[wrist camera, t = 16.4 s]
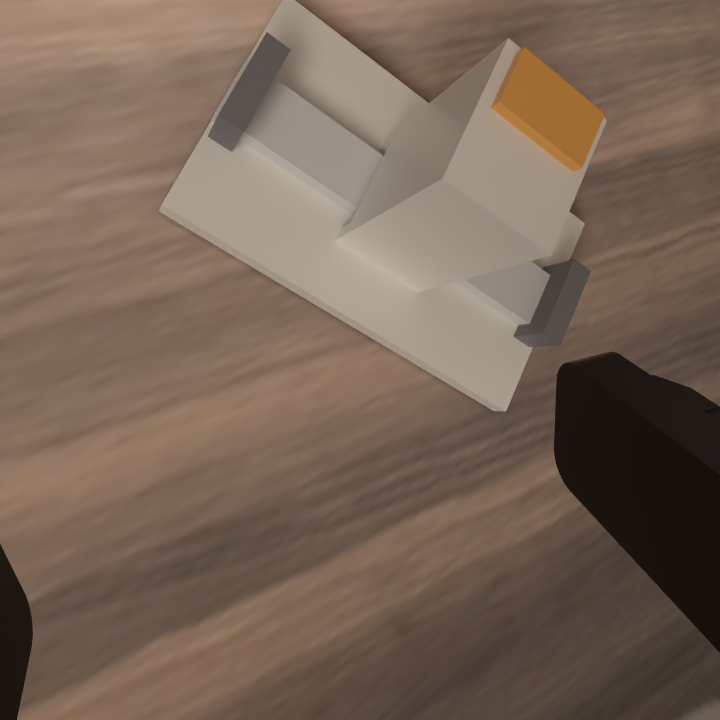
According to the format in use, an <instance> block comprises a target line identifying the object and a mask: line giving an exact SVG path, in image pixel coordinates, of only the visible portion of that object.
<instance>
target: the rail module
mask: <svg viewBox="0 0 720 720" xmlns="http://www.w3.org/2000/svg"><path fill="white" fill-rule="evenodd" d="M604 115H605V114H604V113H603V112H602V111H601V110H599V109H598V108H597V107H596V106H595V105H593V104H592V103H591V102H590V101H589V100H587V99H586V98H585V97H584V96H583V95H582V94H580V93H579V92H578V91H577V90H576V89H574V88H573V87H572V86H571V85H570V84H568V83H567V82H566V81H565V80H564V79H563V78H561V77H560V76H559V75H558V74H557V73H555V72H554V71H553V70H552V69H551V68H549V67H548V66H547V65H546V64H545V63H544V62H542V61H541V60H540V59H539V58H538V57H536V56H535V55H534V54H533V53H532V52H531V51H529V50H528V49H527V48H526V47H523V48H522V49H521V48H520V47H519V46H518V45H516V44H515V43H514V42H513V41H512V40H510V39H509V38H508V39H506V40H505V41H504V42H503V43H502V44H500V45H499V46H498V47H497V48H495V49H494V50H493V51H492V52H491V53H489V54H488V55H487V56H486V57H484V58H483V59H482V60H481V61H480V62H478V63H477V64H476V65H475V66H474V67H472V68H471V69H470V70H469V71H467V72H466V73H465V74H464V75H463V76H461V77H460V78H459V79H458V80H457V81H455V82H454V83H453V84H452V85H450V86H449V87H448V88H447V89H446V90H444V91H443V92H442V93H441V94H440V95H438V96H437V97H436V98H435V99H433V100H432V101H431V102H430V103H429V104H427V105H426V106H425V107H424V108H422V109H421V110H420V111H419V112H418V113H416V114H415V115H414V116H413V117H412V118H410V119H409V120H408V121H407V122H405V123H404V124H403V125H402V126H401V127H399V128H398V129H397V130H396V131H395V132H393V133H392V134H391V135H390V136H388V137H387V138H386V139H385V141H384V143H383V145H382V147H381V149H380V150H381V151H382V152H383V153H385V154H384V156H383V158H382V160H381V162H380V164H379V166H378V168H377V170H376V172H375V174H374V176H373V178H372V180H371V182H370V184H369V186H368V188H367V190H366V192H365V194H364V196H363V198H362V200H361V202H360V204H359V206H358V208H357V210H356V212H355V214H354V216H353V218H352V220H351V222H350V223H349V224H347V225H346V226H344V227H342V228H341V230H340V232H339V234H338V236H337V238H336V240H335V241H336V242H338V243H340V244H341V245H343V246H344V247H346V248H348V249H349V250H351V251H352V252H354V253H356V254H357V255H359V256H360V257H362V258H364V259H365V260H367V261H368V262H370V263H372V264H373V265H375V266H376V267H378V268H380V269H381V270H383V271H384V272H386V273H388V274H389V275H391V276H392V277H394V278H396V279H397V280H399V281H400V282H402V283H404V284H405V285H407V286H408V287H410V288H412V289H413V290H415V291H416V292H421V291H424V290H428V289H432V288H435V287H439V286H442V285H446V284H450V283H453V282H457V281H461V280H464V279H468V278H471V277H475V276H479V275H482V274H486V273H489V272H493V271H497V270H500V269H504V268H507V267H511V266H515V265H518V264H522V263H526V262H529V261H533V260H536V259H540V258H544V257H547V256H551V254H552V252H553V249H554V247H555V245H556V242H557V240H558V237H559V235H560V233H561V230H562V228H563V225H564V223H565V220H566V218H567V216H568V213H569V211H570V208H571V206H572V204H573V201H574V199H575V196H576V194H577V192H578V189H579V187H580V184H581V182H582V180H583V177H584V175H585V172H586V170H587V167H588V165H589V163H590V160H591V158H592V155H593V153H594V151H595V148H596V146H597V143H598V141H599V139H600V136H601V134H602V131H603V129H604V126H605V124H606V122H607V120H606V119H605V118H603V117H604Z"/></svg>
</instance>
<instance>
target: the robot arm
mask: <svg viewBox="0 0 720 720" xmlns="http://www.w3.org/2000/svg"><path fill="white" fill-rule="evenodd" d="M554 454H555V460H556V464H557V468H558V471H559V473H560V475H561V478H562V480H563V481H564V483H565V485H566V486H567V488H568V489H569V490H570V491H571V492H572V493H573V495H574V496H575V497H576V498H577V499H578V500H579V501H580V502H581V503H582V504H583V505H584V506H585V508H586V509H587V510H588V511H589V512H590V513H591V514H592V515H593V516H594V517H595V518H596V519H597V520H598V522H599V523H600V524H601V525H602V526H603V527H604V528H605V529H606V530H607V531H608V532H609V533H610V535H611V536H612V537H613V538H614V539H615V540H616V541H617V542H618V543H619V544H620V545H621V546H622V547H623V549H624V550H625V551H626V552H627V553H628V554H629V555H630V556H631V557H632V558H633V559H634V560H635V561H636V563H637V564H638V565H639V566H640V567H641V568H642V569H643V570H644V571H645V572H646V573H647V574H648V576H649V577H650V578H651V579H652V580H653V581H654V582H655V583H656V584H657V585H658V586H659V587H660V588H661V590H662V591H663V592H664V593H665V594H666V595H667V596H668V597H669V598H670V599H671V600H672V601H673V603H674V604H675V605H676V606H677V607H678V608H679V609H680V610H681V611H682V612H683V613H684V614H685V615H686V617H687V618H688V619H689V620H690V621H691V622H692V623H693V624H694V625H695V626H696V627H697V628H698V630H699V631H700V632H701V633H702V634H703V635H704V636H705V637H706V638H707V639H708V640H709V641H710V642H711V644H712V645H713V646H714V647H715V648H716V649H717V650H718V651H719V652H720V407H719V406H718V405H716V404H715V403H713V402H712V401H710V400H709V399H707V398H706V397H704V396H702V395H701V394H699V393H698V392H696V391H695V390H693V389H692V388H689V387H687V386H684V385H681V384H678V383H675V382H672V381H669V380H667V379H664V378H661V377H658V376H655V375H652V376H651V375H650V374H648V373H647V372H645V371H644V370H642V369H641V368H639V367H638V366H636V365H635V364H633V363H632V362H630V361H629V360H627V359H626V358H624V357H623V356H621V355H620V354H618V353H615V352H607V353H603V354H599V355H595V356H591V357H587V358H583V359H579V360H575V361H571V362H567V363H564V364H563V365H562V366H561V367H560V369H559V371H558V374H557V384H556V410H555V437H554ZM32 638H33V628H32V617H31V612H30V607H29V603H28V600H27V598H26V595H25V593H24V591H23V589H22V587H21V585H20V583H19V581H18V579H17V577H16V575H15V573H14V571H13V569H12V567H11V565H10V563H9V561H8V559H7V557H6V555H5V553H4V551H3V549H2V547H1V545H0V720H17V716H18V711H19V706H20V701H21V697H22V692H23V687H24V682H25V677H26V672H27V667H28V662H29V657H30V652H31V647H32Z"/></svg>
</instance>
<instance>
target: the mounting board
mask: <svg viewBox="0 0 720 720" xmlns="http://www.w3.org/2000/svg"><path fill="white" fill-rule="evenodd" d="M427 104H429V103H428V102H427V101H425V100H424V99H423V98H421V97H420V96H419V95H417V94H416V93H415V92H414V91H412V90H411V89H410V88H408V87H407V86H406V85H404V84H403V83H402V82H401V81H399V80H398V79H397V78H395V77H394V76H393V75H391V74H390V73H389V72H388V71H386V70H385V69H384V68H382V67H381V66H380V65H378V64H377V63H376V62H375V61H373V60H372V59H371V58H369V57H368V56H367V55H365V54H364V53H363V52H362V51H360V50H359V49H358V48H356V47H355V46H354V45H352V44H351V43H350V42H349V41H347V40H346V39H345V38H343V37H342V36H341V35H339V34H338V33H337V32H336V31H334V30H333V29H332V28H330V27H329V26H328V25H327V24H325V23H324V22H323V21H321V20H320V19H319V18H317V17H316V16H315V15H314V14H312V13H311V12H310V11H308V10H307V9H306V8H304V7H303V6H302V5H301V4H299V3H298V2H297V1H295V0H282V2H281V3H280V5H279V7H278V8H277V10H276V12H275V13H274V15H273V17H272V19H271V20H270V22H269V24H268V25H267V27H266V29H265V30H264V32H263V34H262V35H261V37H260V39H259V41H258V42H257V44H256V46H255V47H254V49H253V51H252V52H251V54H250V56H249V58H248V59H246V61H245V63H244V64H243V66H242V68H241V69H240V71H239V73H238V74H237V76H236V78H235V80H234V81H233V83H232V85H231V86H230V88H229V90H228V91H227V93H226V95H225V96H224V98H223V100H222V102H221V103H220V105H219V107H218V108H217V110H216V112H215V114H214V116H213V118H212V120H211V122H210V124H209V125H208V127H207V129H206V130H205V132H204V134H203V136H202V137H201V139H200V141H199V142H198V144H197V146H196V147H195V149H194V151H193V152H192V154H191V156H190V158H189V159H188V161H187V163H186V164H185V166H184V168H183V169H182V171H181V173H180V174H179V176H178V178H177V180H176V181H175V183H174V185H173V186H172V188H171V190H170V191H169V193H168V195H167V197H166V198H165V200H164V202H163V203H162V205H161V208H160V210H159V212H161V213H162V214H164V215H166V216H167V217H169V218H171V219H172V220H174V221H176V222H177V223H179V224H181V225H182V226H184V227H186V228H187V229H189V230H191V231H192V232H194V233H196V234H197V235H199V236H201V237H203V238H204V239H206V240H208V241H209V242H211V243H213V244H214V245H216V246H218V247H219V248H221V249H223V250H224V251H226V252H228V253H229V254H231V255H233V256H234V257H236V258H238V259H239V260H241V261H243V262H244V263H246V264H248V265H249V266H251V267H253V268H255V269H256V270H258V271H260V272H261V273H263V274H265V275H266V276H268V277H270V278H271V279H273V280H275V281H276V282H278V283H280V284H281V285H283V286H285V287H286V288H288V289H290V290H291V291H293V292H295V293H296V294H298V295H300V296H302V297H303V298H305V299H307V300H308V301H310V302H312V303H313V304H315V305H317V306H318V307H320V308H322V309H323V310H325V311H327V312H328V313H330V314H332V315H333V316H335V317H337V318H338V319H340V320H342V321H343V322H345V323H347V324H348V325H350V326H352V327H354V328H355V329H357V330H359V331H360V332H362V333H364V334H365V335H367V336H369V337H370V338H372V339H374V340H375V341H377V342H379V343H380V344H382V345H384V346H385V347H387V348H389V349H390V350H392V351H394V352H395V353H397V354H399V355H401V356H402V357H404V358H406V359H407V360H409V361H411V362H412V363H414V364H416V365H417V366H419V367H421V368H422V369H424V370H426V371H427V372H429V373H431V374H432V375H434V376H436V377H437V378H439V379H441V380H442V381H444V382H446V383H447V384H449V385H451V386H453V387H454V388H456V389H458V390H459V391H461V392H463V393H464V394H466V395H468V396H469V397H471V398H473V399H474V400H476V401H478V402H479V403H481V404H483V405H484V406H486V407H488V408H489V409H491V410H493V411H506V410H507V408H508V406H509V403H510V401H511V398H512V396H513V394H514V391H515V389H516V386H517V384H518V382H519V379H520V377H521V375H522V372H523V370H524V367H525V365H526V363H527V360H528V358H529V356H530V353H531V351H532V348H533V347H539V346H551V345H561V342H562V340H563V337H564V335H565V332H566V330H567V328H568V325H569V323H570V320H571V318H572V315H573V313H574V310H575V308H576V306H577V303H578V301H579V298H580V296H581V293H582V291H583V289H584V286H585V284H586V281H587V279H588V276H589V274H590V270H588V269H587V268H586V267H584V266H583V265H582V264H580V263H579V262H578V261H576V260H575V259H573V260H570V258H571V256H572V253H573V251H574V248H575V246H576V244H577V241H578V239H579V236H580V234H581V232H582V229H583V227H584V225H585V223H584V222H582V221H581V220H580V219H578V218H577V217H576V216H575V215H573V214H572V213H571V212H569V213H568V216H567V218H566V220H565V223H564V225H563V228H562V230H561V233H560V235H559V237H558V240H557V242H556V245H555V247H554V249H553V252H552V254H551V256H547V257H544V258H540V259H536V260H533V261H529V262H526V263H522V264H518V265H515V266H511V267H507V268H504V269H500V270H497V271H493V272H489V273H486V274H482V275H479V276H475V277H471V278H468V279H464V280H461V281H457V282H453V283H450V284H446V285H442V286H439V287H435V288H432V289H428V290H424V291H421V292H416V291H415V290H413V289H412V288H410V287H408V286H407V285H405V284H404V283H402V282H400V281H399V280H397V279H396V278H394V277H392V276H391V275H389V274H388V273H386V272H384V271H383V270H381V269H380V268H378V267H376V266H375V265H373V264H372V263H370V262H368V261H367V260H365V259H364V258H362V257H360V256H359V255H357V254H356V253H354V252H352V251H351V250H349V249H348V248H346V247H344V246H343V245H341V244H340V243H338V242H336V241H335V240H336V238H337V236H338V234H339V232H340V230H341V228H342V227H344V226H346V225H347V224H349V223H350V222H351V220H352V218H353V216H354V214H355V212H356V210H357V208H358V206H359V204H360V202H361V200H362V198H363V196H364V194H365V192H366V190H367V188H368V186H369V184H370V182H371V180H372V178H373V176H374V174H375V172H376V170H377V168H378V166H379V164H380V162H381V160H382V158H383V156H384V154H385V153H383V152H382V151H381V150H380V149H381V147H382V145H383V143H384V141H385V139H386V138H387V137H388V136H390V135H391V134H392V133H393V132H395V131H396V130H397V129H398V128H399V127H401V126H402V125H403V124H404V123H405V122H407V121H408V120H409V119H410V118H412V117H413V116H414V115H415V114H416V113H418V112H419V111H420V110H421V109H422V108H424V107H425V106H426V105H427Z"/></svg>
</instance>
